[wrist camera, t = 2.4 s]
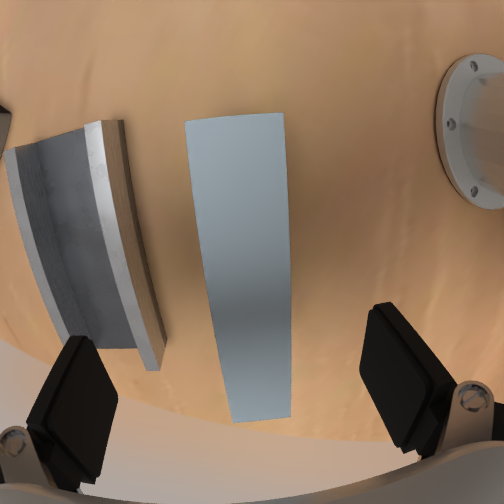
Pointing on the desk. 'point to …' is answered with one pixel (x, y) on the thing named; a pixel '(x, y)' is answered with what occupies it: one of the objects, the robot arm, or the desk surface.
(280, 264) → the grey slab
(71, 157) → the track
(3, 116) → the infrared thermometer
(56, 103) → the desk surface
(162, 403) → the desk surface
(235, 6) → the desk surface
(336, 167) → the desk surface
